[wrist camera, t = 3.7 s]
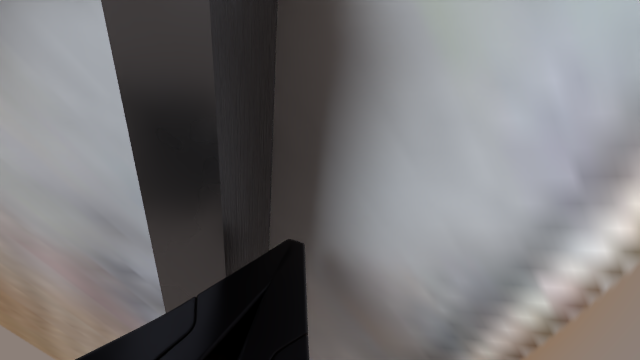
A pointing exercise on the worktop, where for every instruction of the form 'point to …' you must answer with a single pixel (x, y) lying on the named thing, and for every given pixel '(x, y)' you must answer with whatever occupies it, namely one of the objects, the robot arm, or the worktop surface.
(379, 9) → the worktop surface
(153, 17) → the folding leg
